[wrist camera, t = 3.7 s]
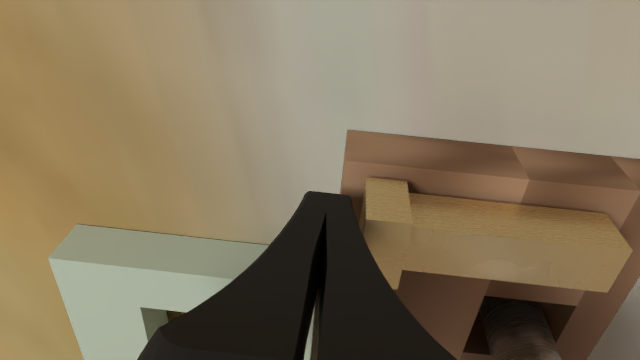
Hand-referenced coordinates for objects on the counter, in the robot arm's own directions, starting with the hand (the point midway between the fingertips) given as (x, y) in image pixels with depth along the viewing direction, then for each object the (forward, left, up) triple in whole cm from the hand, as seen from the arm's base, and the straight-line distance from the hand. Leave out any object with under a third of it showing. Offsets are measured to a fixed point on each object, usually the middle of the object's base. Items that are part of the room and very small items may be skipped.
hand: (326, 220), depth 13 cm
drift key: (-5, 0, -1) cm, 5 cm away
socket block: (-5, +3, -3) cm, 7 cm away
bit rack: (+5, +8, -3) cm, 10 cm away
